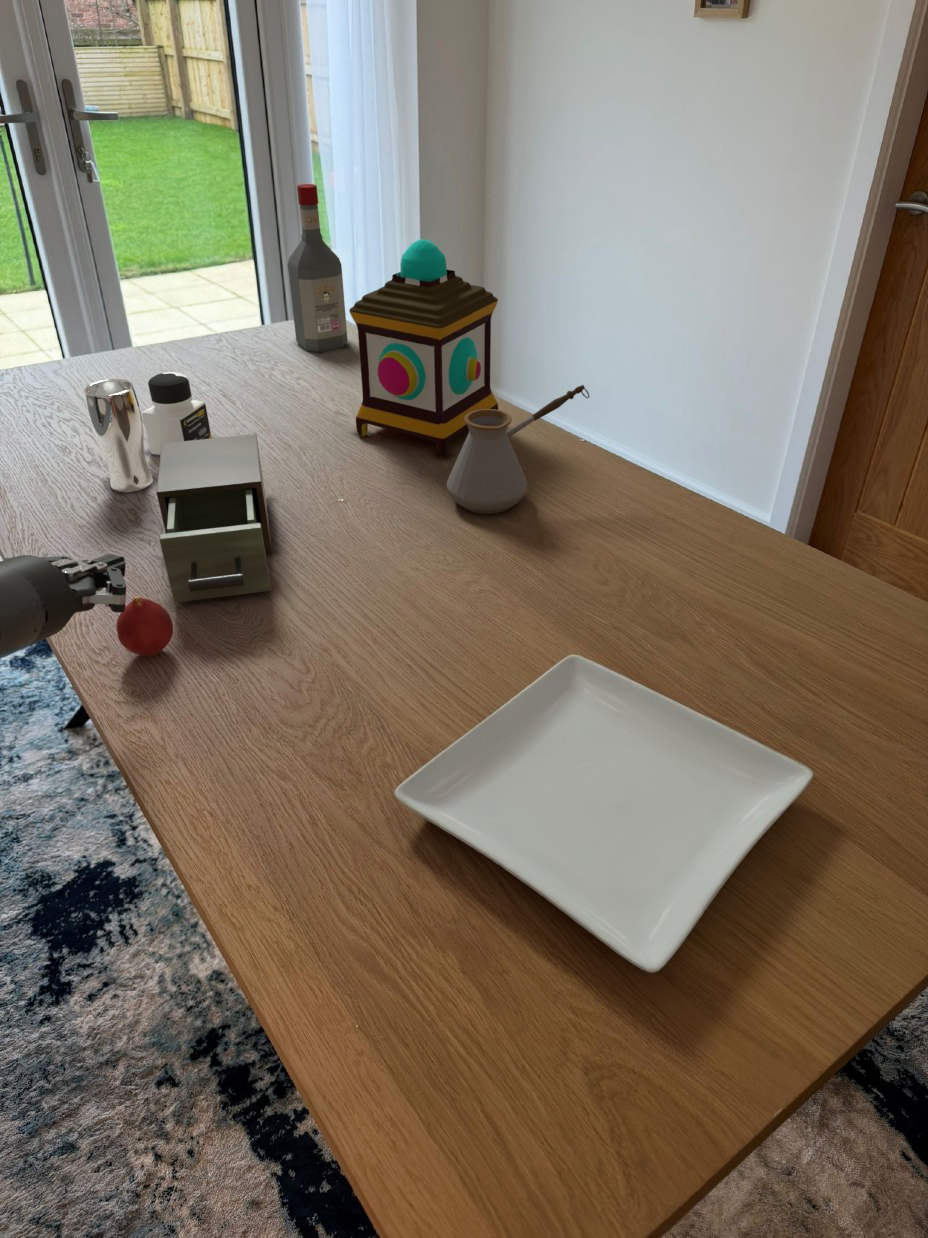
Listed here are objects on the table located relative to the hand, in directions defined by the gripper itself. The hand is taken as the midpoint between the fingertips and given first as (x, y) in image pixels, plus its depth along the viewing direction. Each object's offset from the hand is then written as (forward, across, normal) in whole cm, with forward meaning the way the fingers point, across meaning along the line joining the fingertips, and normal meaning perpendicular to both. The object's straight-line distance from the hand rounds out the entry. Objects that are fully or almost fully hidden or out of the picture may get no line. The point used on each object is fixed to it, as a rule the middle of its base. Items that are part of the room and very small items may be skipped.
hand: (117, 564), depth 91 cm
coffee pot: (+49, +33, +7) cm, 59 cm away
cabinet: (+31, -4, -3) cm, 31 cm away
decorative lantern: (+68, +14, +11) cm, 70 cm away
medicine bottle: (+53, -22, +2) cm, 58 cm away
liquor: (+103, -19, +20) cm, 106 cm away
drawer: (+19, +2, -6) cm, 20 cm away
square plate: (-6, +53, -10) cm, 54 cm away
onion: (+6, +1, -12) cm, 13 cm away
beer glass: (+41, -23, -2) cm, 47 cm away
